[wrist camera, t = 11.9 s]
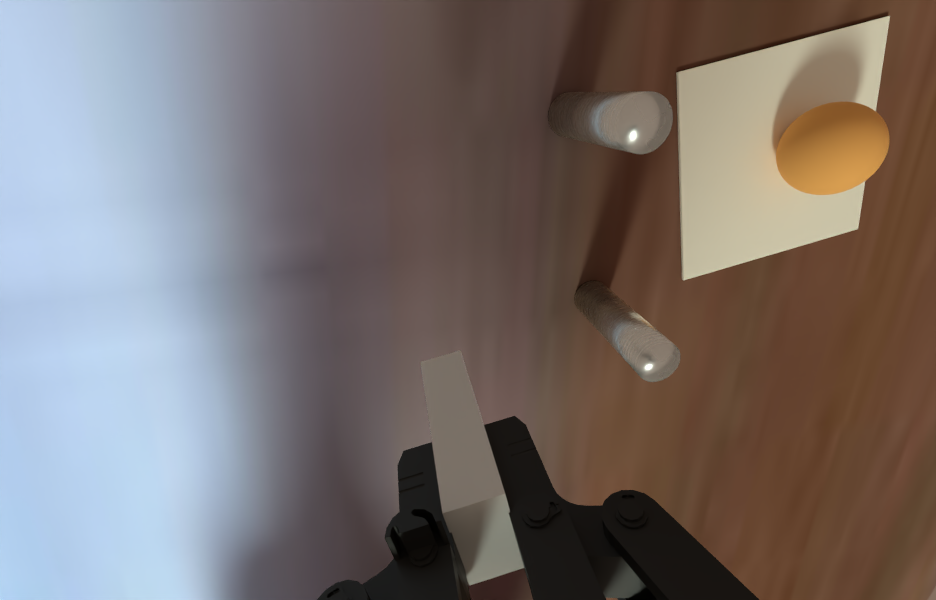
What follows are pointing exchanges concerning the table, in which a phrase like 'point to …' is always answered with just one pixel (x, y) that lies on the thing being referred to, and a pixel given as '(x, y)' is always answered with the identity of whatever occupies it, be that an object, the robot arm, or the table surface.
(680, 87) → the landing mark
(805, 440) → the table surface
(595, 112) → the post
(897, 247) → the table surface
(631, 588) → the robot arm
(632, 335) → the post
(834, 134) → the ball
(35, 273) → the table surface
